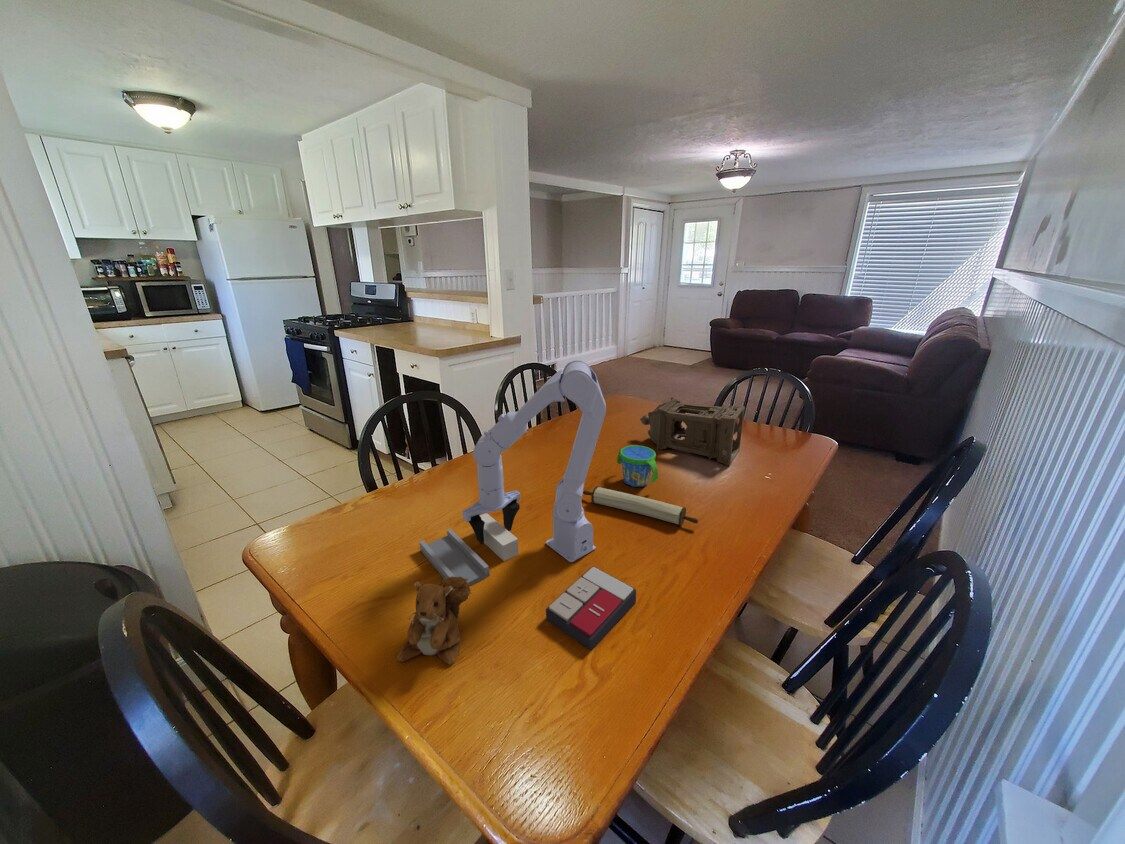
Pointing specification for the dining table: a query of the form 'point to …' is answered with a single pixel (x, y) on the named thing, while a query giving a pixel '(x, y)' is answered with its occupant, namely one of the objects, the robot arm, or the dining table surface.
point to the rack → (455, 558)
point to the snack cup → (637, 465)
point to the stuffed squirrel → (436, 620)
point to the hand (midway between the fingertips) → (494, 535)
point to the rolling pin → (640, 505)
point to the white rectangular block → (499, 538)
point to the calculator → (591, 607)
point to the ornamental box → (697, 429)
